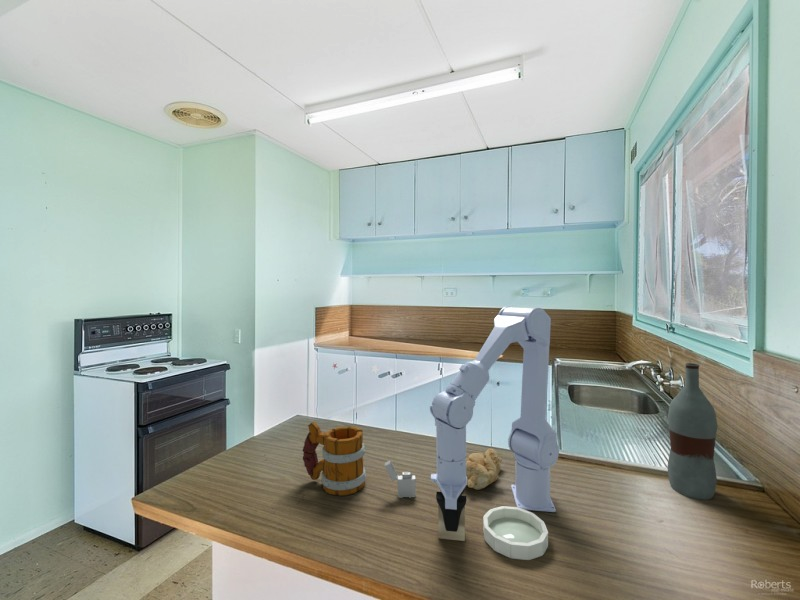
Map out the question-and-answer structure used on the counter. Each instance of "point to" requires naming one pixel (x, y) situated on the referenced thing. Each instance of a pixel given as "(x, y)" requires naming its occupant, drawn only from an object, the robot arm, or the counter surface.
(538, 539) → the dish
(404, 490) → the lighter
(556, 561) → the counter surface
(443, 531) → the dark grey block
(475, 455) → the ginger root
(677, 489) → the bottle
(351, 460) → the mug
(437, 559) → the counter surface
